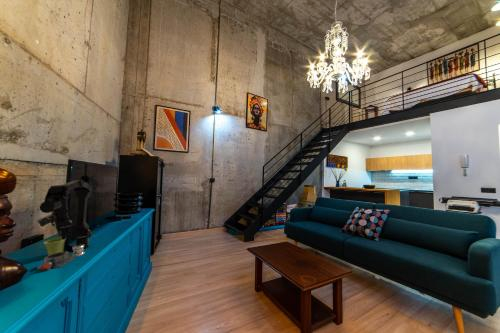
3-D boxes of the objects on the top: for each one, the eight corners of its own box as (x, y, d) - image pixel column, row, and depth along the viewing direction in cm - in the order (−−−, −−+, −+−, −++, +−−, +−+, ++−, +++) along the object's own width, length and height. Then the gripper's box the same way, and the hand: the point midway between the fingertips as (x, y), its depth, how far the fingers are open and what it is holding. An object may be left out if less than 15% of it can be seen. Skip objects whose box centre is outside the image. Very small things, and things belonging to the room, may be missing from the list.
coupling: (76, 253, 116) (76, 245, 116) (86, 252, 117) (86, 244, 117) (70, 257, 111) (69, 248, 111) (80, 256, 112) (80, 247, 112)
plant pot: (47, 260, 109) (46, 244, 109) (42, 257, 113) (41, 241, 114) (69, 253, 117) (68, 238, 117) (63, 250, 121) (63, 236, 122)
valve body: (56, 259, 109) (56, 251, 109) (77, 257, 111) (76, 248, 111) (33, 272, 95) (32, 262, 95) (57, 269, 97) (57, 259, 97)
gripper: (36, 209, 105) (38, 239, 105) (40, 214, 93) (42, 247, 93) (64, 205, 114) (66, 232, 114) (71, 209, 102) (73, 239, 102)
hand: (62, 237), depth 106 cm, fingers open, 9 cm apart
